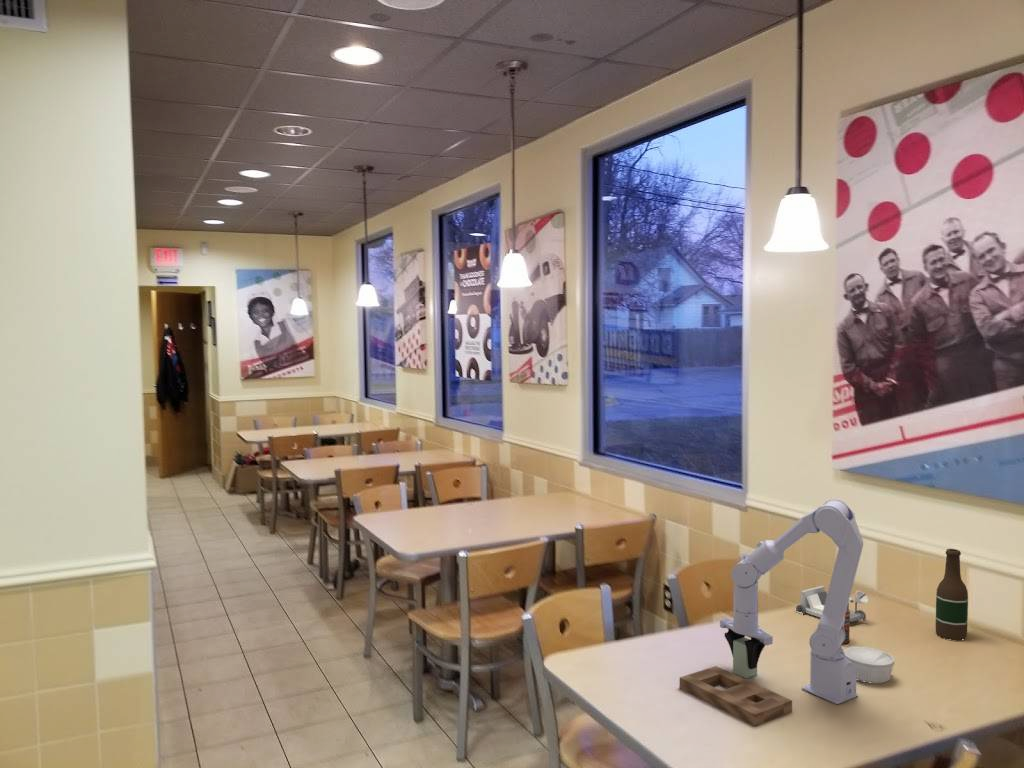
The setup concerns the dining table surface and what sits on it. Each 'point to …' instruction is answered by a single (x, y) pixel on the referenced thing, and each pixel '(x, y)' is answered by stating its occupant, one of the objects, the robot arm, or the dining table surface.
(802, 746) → the dining table surface
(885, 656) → the ramekin
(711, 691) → the socket board
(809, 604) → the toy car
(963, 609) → the beer bottle
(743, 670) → the peg
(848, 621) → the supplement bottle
